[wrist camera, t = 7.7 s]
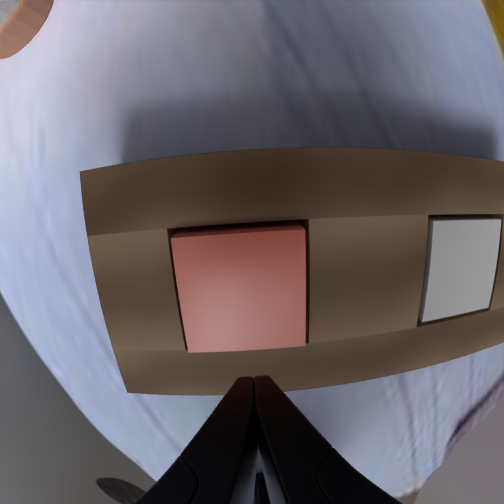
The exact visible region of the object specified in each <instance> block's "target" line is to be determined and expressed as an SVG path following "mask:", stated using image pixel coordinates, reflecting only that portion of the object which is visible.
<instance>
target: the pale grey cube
mask: <svg viewBox="0 0 504 504" xmlns="http://www.w3.org/2000/svg"><path fill="white" fill-rule="evenodd" d="M500 230H501V219H498V218H494V217H491V216H487V215H483V214H439V215H428V232H427V247H426V259H425V269H424V278H423V286H422V294H421V301H420V307H419V314H418V319H419V320H420V321H421V322H425V321H431V320H435V319H440V318H445V317H450V316H454V315H459V314H463V313H467V312H472V311H476V310H480V309H484V308H488V307H489V302H490V298H491V293H492V288H493V282H494V277H495V270H496V264H497V257H498V249H499V240H500Z"/></svg>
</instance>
